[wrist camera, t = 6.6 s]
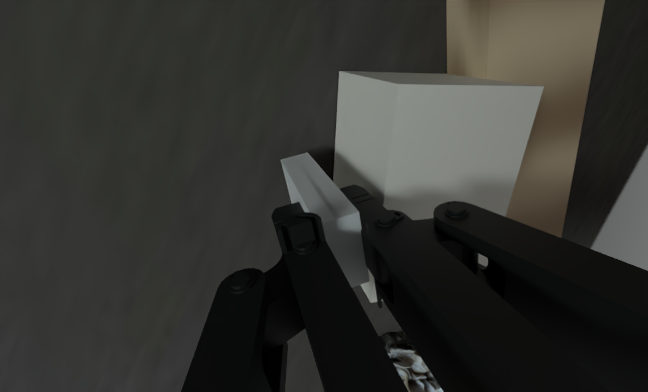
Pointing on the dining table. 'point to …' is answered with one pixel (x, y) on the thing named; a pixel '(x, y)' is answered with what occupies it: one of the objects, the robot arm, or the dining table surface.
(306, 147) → the dining table surface
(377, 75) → the block
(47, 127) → the dining table surface
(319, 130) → the dining table surface
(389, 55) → the dining table surface
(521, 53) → the batten
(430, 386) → the crumpled grey lump
